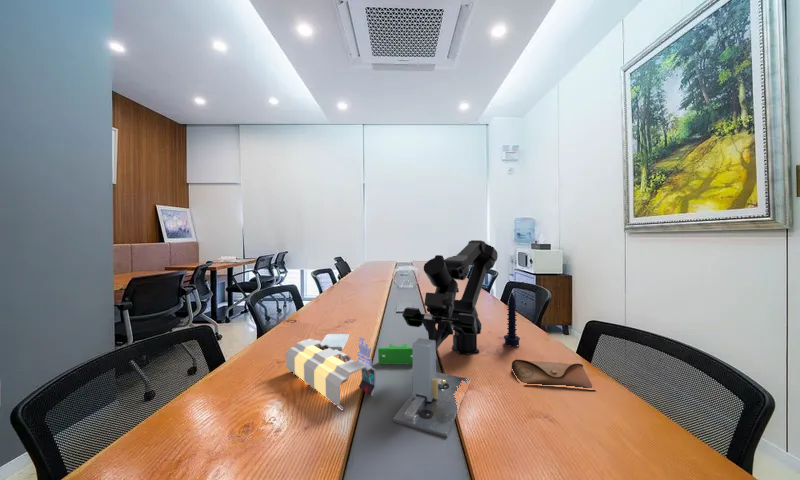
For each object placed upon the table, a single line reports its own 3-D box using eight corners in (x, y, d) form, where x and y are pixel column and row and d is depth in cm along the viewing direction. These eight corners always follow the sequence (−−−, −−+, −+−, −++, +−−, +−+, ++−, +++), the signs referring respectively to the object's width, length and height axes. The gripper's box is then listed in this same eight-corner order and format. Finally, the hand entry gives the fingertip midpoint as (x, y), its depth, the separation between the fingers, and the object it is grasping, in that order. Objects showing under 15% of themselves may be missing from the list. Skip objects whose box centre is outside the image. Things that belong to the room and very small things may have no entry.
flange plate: (429, 372, 78) (429, 365, 78) (471, 381, 74) (471, 374, 74) (393, 421, 58) (392, 412, 58) (446, 437, 54) (446, 427, 54)
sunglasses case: (519, 386, 71) (515, 356, 74) (513, 387, 77) (510, 360, 80) (599, 391, 69) (592, 360, 72) (587, 392, 75) (581, 364, 78)
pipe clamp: (417, 359, 87) (417, 344, 87) (417, 364, 84) (417, 349, 84) (379, 358, 88) (379, 343, 87) (378, 364, 84) (378, 348, 84)
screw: (516, 341, 100) (522, 347, 95) (501, 341, 100) (506, 347, 95) (516, 289, 100) (522, 292, 95) (501, 289, 100) (507, 292, 95)
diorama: (376, 395, 68) (375, 339, 68) (338, 414, 61) (337, 352, 61) (320, 362, 86) (320, 317, 86) (286, 374, 79) (285, 326, 78)
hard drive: (342, 347, 94) (348, 333, 106) (316, 347, 94) (326, 333, 106) (342, 352, 94) (348, 338, 106) (316, 352, 94) (326, 338, 106)
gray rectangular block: (418, 388, 69) (418, 337, 68) (440, 393, 67) (439, 341, 66) (412, 397, 65) (411, 343, 65) (434, 402, 63) (434, 347, 63)
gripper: (404, 277, 79) (386, 330, 69) (475, 282, 71) (465, 342, 61) (415, 300, 86) (400, 351, 77) (480, 306, 78) (472, 364, 69)
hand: (431, 352), depth 71 cm, fingers closed
